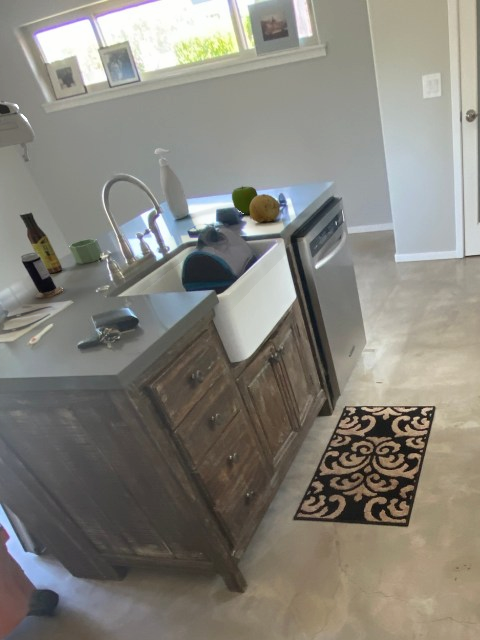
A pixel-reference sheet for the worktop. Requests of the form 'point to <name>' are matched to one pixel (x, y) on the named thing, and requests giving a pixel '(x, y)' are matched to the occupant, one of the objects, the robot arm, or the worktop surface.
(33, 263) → the beverage can
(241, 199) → the apple
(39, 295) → the coaster
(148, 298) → the worktop surface
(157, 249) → the worktop surface
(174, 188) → the soap bottle
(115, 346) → the worktop surface
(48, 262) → the sauce bottle
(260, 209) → the potato
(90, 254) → the green bowl
